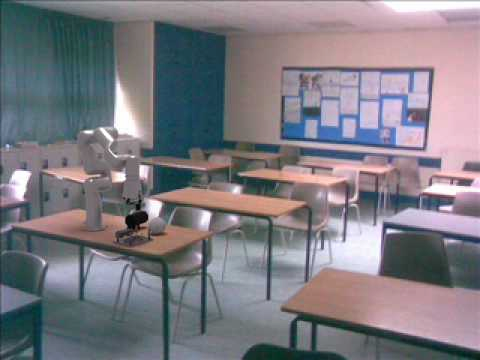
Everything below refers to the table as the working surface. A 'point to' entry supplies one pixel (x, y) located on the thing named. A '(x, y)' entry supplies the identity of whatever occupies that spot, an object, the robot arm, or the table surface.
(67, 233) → the table surface
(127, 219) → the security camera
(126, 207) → the board
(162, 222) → the eye model
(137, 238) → the chassis
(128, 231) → the stand
